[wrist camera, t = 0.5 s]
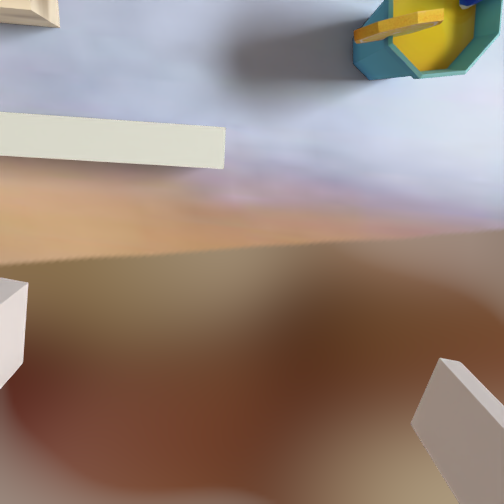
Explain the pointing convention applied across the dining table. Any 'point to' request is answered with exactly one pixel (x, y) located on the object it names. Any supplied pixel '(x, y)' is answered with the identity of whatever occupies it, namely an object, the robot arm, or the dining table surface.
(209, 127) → the board
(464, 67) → the cup
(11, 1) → the birch block
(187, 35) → the dining table surface
